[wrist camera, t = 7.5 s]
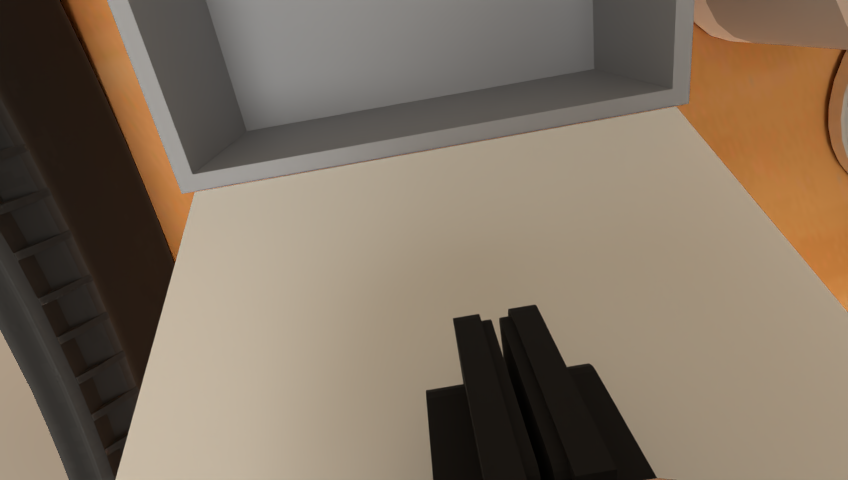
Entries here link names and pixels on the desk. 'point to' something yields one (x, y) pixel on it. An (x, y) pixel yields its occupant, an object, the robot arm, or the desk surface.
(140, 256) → the magazine
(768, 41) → the spray bottle
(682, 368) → the carton flap
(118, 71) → the desk surface
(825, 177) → the desk surface
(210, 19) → the carton
